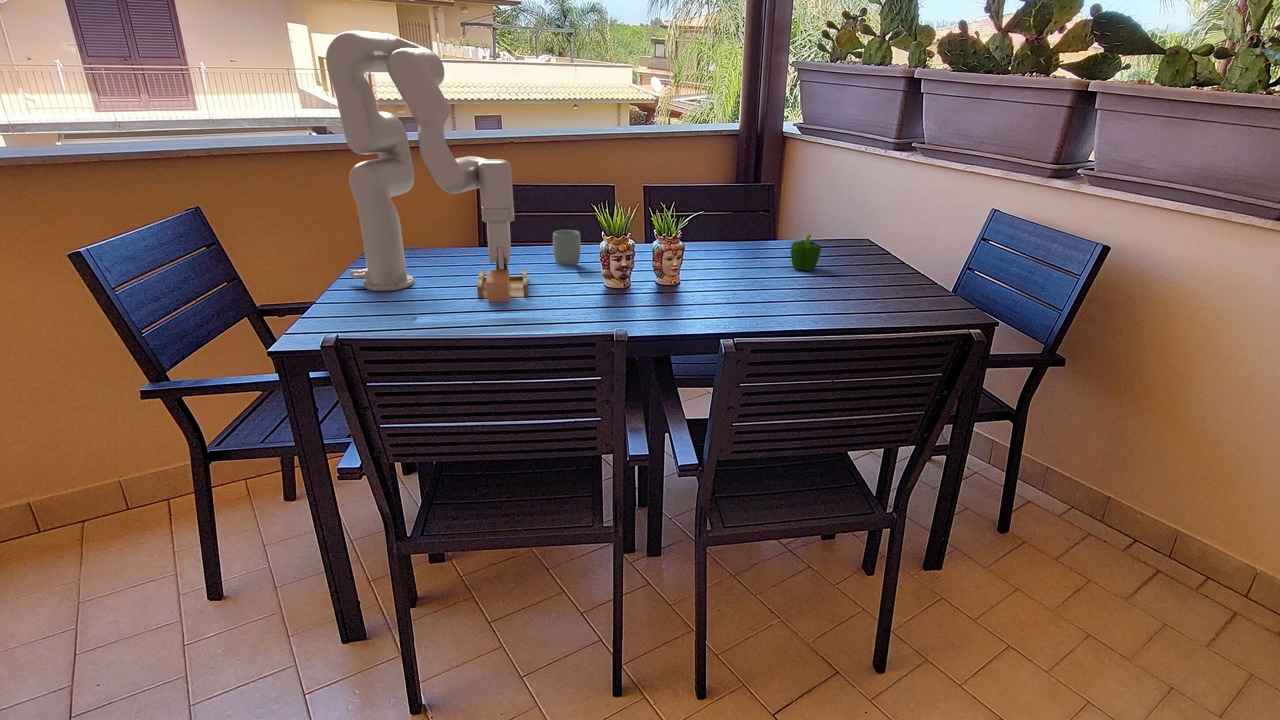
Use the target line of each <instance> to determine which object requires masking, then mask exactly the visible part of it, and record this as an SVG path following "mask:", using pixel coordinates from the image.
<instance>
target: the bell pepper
mask: <svg viewBox="0 0 1280 720" xmlns="http://www.w3.org/2000/svg"><path fill="white" fill-rule="evenodd" d="M811 238H812V235H811V234H807V236H806V238H805V240H803V239H802V240H800V241H794V242H792V244H791V247H790V257H791V264H792V267H793V269H794V270H797V271H805V272H810V271H811V272H812V271H814V270H815V268H816V266H817V264H818V261H819V259H820V256H821V244H819V243H816V242H815V241H813V240H812V241H810V239H811Z"/></svg>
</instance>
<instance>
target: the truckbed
mask: <svg viewBox="0 0 1280 720" xmlns="http://www.w3.org/2000/svg"><path fill="white" fill-rule="evenodd" d="M527 274H528V273H527V268H522V275H509V276H510V284H511V296H510V298H526V297H529V294H528V292H529V291H528V290H529V288H528V287H529V286H528V275H527ZM486 278H487V276H485V272H484V270H483V269H482V270H481V269H480V270H479V274H478V279H477V284H476V285H477V286H476V288H477V299H488V295H487V288H486Z"/></svg>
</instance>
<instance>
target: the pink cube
mask: <svg viewBox="0 0 1280 720" xmlns="http://www.w3.org/2000/svg"><path fill="white" fill-rule="evenodd" d="M510 276H511V275H510V270H509V269H508V270H496V269H490V270H487V273H486V277H487V278H486V288H487V295H488V298H487V300H488V303H499V302H500V303H503V302H505V303H508V302H510V301H511V297H510V296H511V284H510Z"/></svg>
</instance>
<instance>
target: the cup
mask: <svg viewBox="0 0 1280 720" xmlns="http://www.w3.org/2000/svg"><path fill="white" fill-rule="evenodd" d="M552 248H553V257H554V261H555V263H556V264H558V265H564V266H565V265H566V266H568V265H570V266H571V265H575V267H577V265H578V264H579V263H580V258H581V232H580V231H579V230H574V229H559V230H554V231H553V233H552Z"/></svg>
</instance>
